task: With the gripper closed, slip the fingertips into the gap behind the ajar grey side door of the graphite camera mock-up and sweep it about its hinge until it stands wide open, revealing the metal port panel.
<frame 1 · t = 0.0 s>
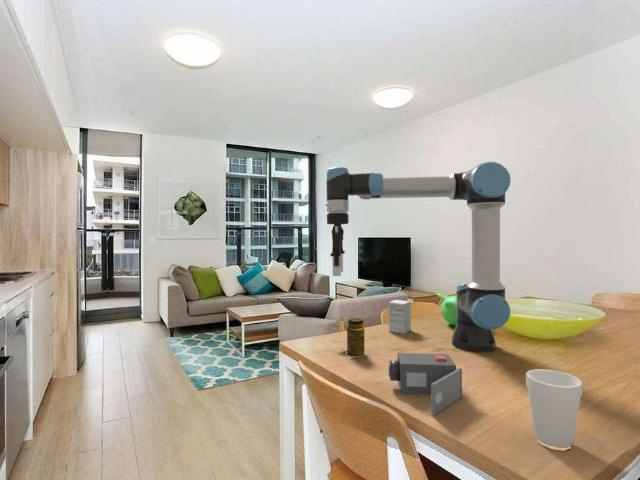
hand: (338, 273, 129), 28 cm above the table, tool pointing down, fingers open, 13 cm apart
side door: (448, 390, 90), point 4 cm above the table, hinge at 50.0°
condiment: (353, 354, 130), on the table
toy bird: (458, 326, 167), on the table
camera box: (425, 388, 101), on the table
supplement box: (399, 331, 159), on the table
foam cup: (553, 443, 74), on the table
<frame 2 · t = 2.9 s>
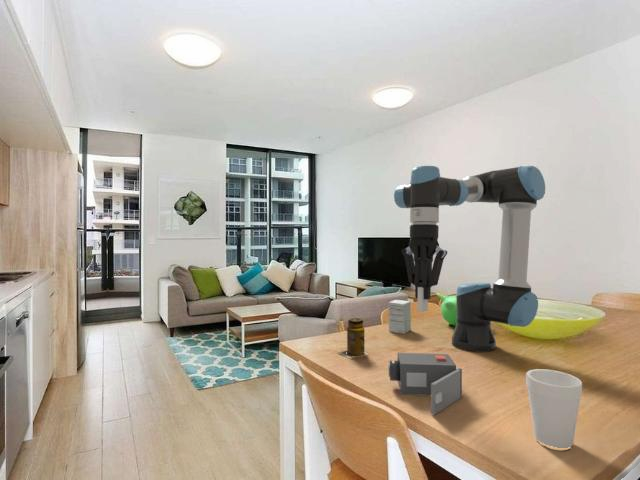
hand: (422, 310, 101), 21 cm above the table, tool pointing down, fingers closed
nothing on the table moved.
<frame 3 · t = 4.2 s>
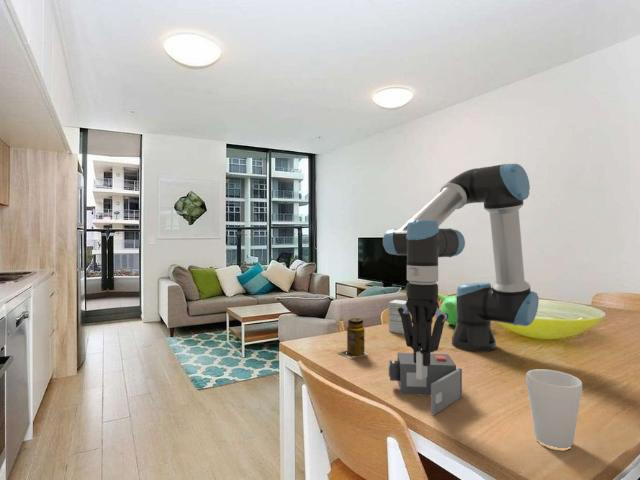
hand: (421, 377, 92), 6 cm above the table, tool pointing down, fingers closed
nothing on the table moved.
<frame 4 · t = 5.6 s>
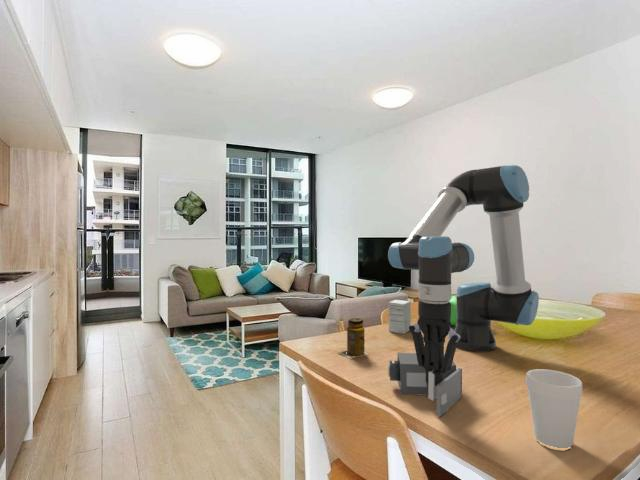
hand: (433, 397, 90), 2 cm above the table, tool pointing down, fingers closed
side door: (451, 391, 90), point 4 cm above the table, hinge at 55.9°, touching gripper
everything else where it was.
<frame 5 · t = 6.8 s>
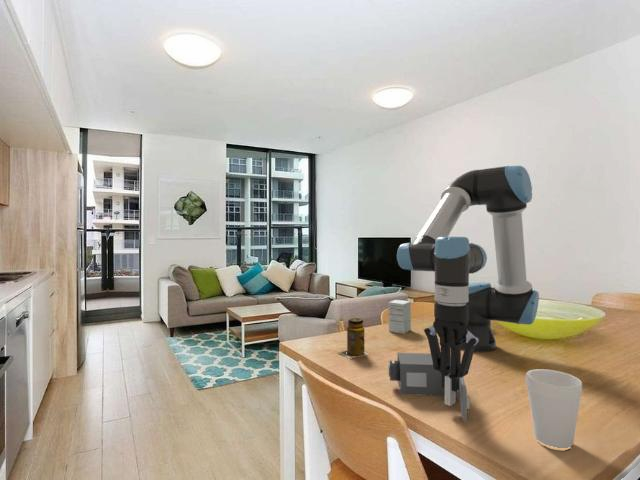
hand: (450, 402, 87), 2 cm above the table, tool pointing down, fingers closed
side door: (463, 392, 89), point 4 cm above the table, hinge at 80.1°, touching gripper
everything else where it was.
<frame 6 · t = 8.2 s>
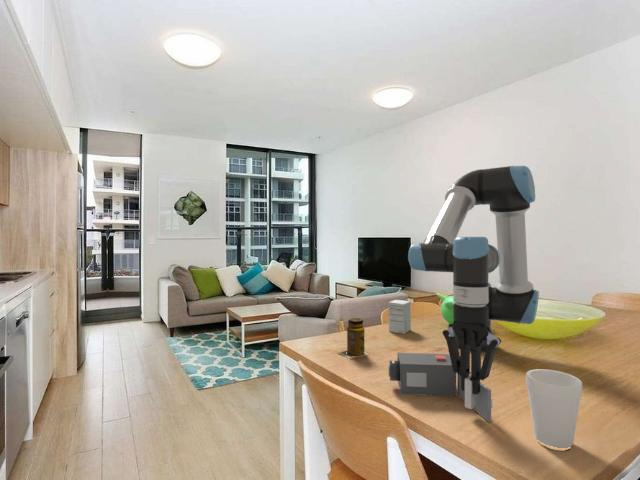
hand: (470, 405, 85), 2 cm above the table, tool pointing down, fingers closed
side door: (473, 392, 89), point 4 cm above the table, hinge at 103.2°, touching gripper
everything else where it was.
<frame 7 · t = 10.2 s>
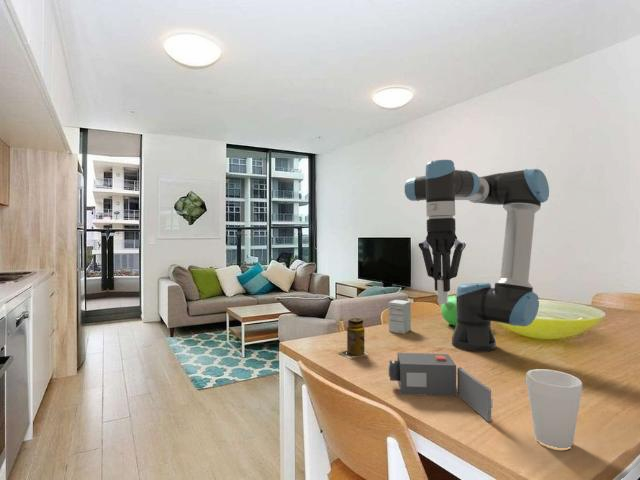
hand: (442, 302, 103), 23 cm above the table, tool pointing down, fingers closed
side door: (473, 392, 89), point 4 cm above the table, hinge at 103.3°
everything else where it was.
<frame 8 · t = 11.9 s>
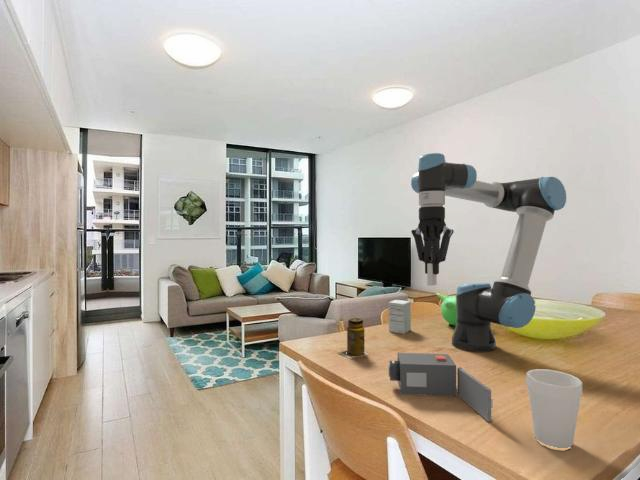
hand: (431, 284, 112), 26 cm above the table, tool pointing down, fingers closed
nothing on the table moved.
at the end: side door at +103° (first picture: +50°) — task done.
